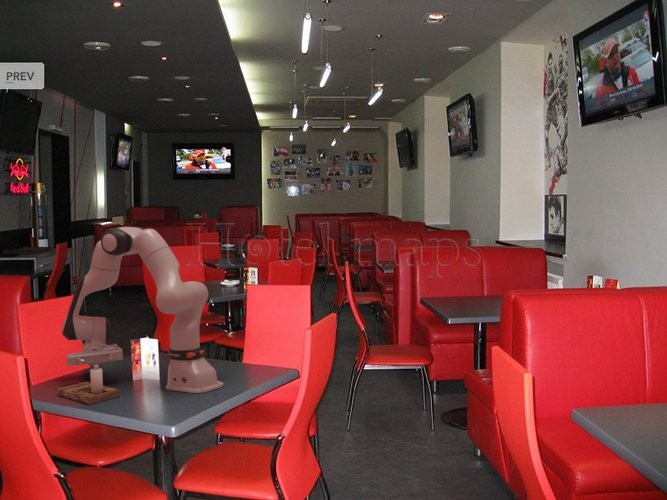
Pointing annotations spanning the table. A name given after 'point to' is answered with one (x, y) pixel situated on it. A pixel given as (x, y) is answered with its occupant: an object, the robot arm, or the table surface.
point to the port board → (87, 393)
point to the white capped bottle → (96, 380)
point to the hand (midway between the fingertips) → (95, 360)
